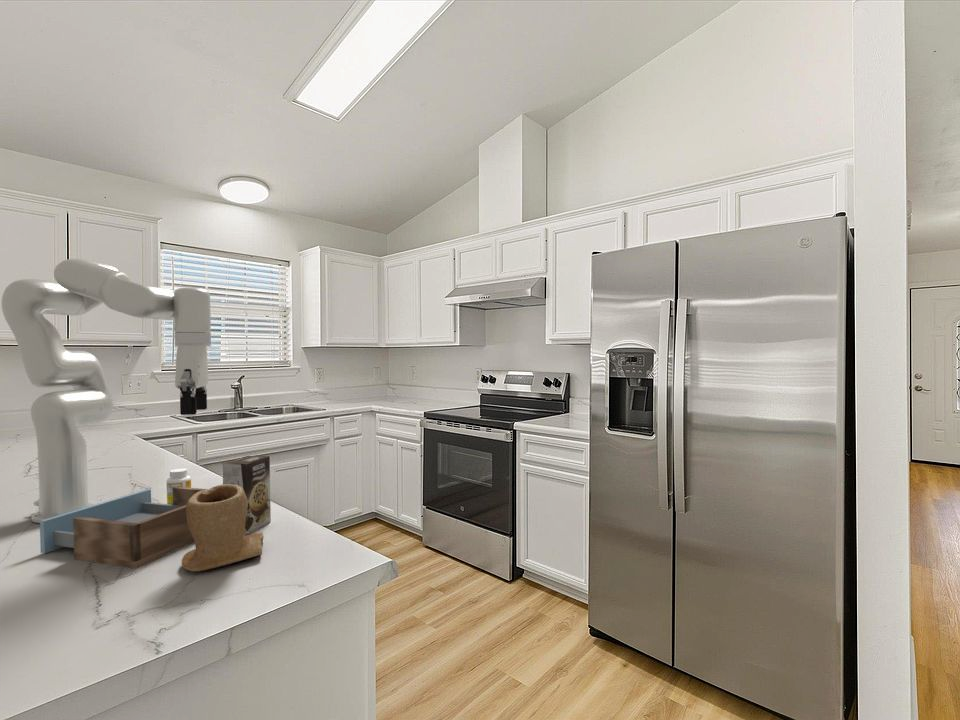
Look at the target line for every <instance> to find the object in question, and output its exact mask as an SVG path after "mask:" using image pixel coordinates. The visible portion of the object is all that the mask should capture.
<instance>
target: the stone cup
mask: <svg viewBox="0 0 960 720" xmlns="http://www.w3.org/2000/svg"><path fill="white" fill-rule="evenodd" d="M207 489H208V490H202V491H199V492H197V493H196V494H194V495H193V496H192V497H191V498H190V499H189V500H188V502H187V506H186V515H187V524H188V527H189V530H190V532H191V534H192V536H193V538H194V541H195V542H194V545H195V548H194V549H192V550H189V551H187V552H186V553H185V554H183V557H182V559H181V566H182V567H183V568H184V569H185V570H187V571H189V572H202V571H208V570H211V569H215V568H219V567H222V566H227V565H230V564H233V563H234V564H235V563H238V562H240V561H243V560H244V561H245V560H248V559H251V558H255V557H258V556H261V555H262V554H263V545H264V533H263V532H262V531H261V532H257V533H253V534H248V535H244V527H245V521H246V515H247V509H248V501H247V497H246V494H245V492H244V490H243V488H242V487H240V486H238V485H233V484H225V485H223V484H217V485H215V486H212V487H211V488H207Z"/></svg>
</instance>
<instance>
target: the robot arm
mask: <svg viewBox="0 0 960 720" xmlns="http://www.w3.org/2000/svg"><path fill="white" fill-rule="evenodd" d="M53 277H54V280H55V281H53V280H46V279H36V278H35V279H33V278H25V279H24V278H23V279H17V280H14V281H13V282H11V283H9V284H8V285H7V286H6V287H5V289H4V291H3V293H2V296H1V310H2V314H3V317H4V319H5V321H6V324H7V325H8V327H9V328H10V330H11V332H12V334H13V336H14V338H15V341H16V344H17V348H18V351H19V354H20V357H21V359H22V364H23V367H24V370H25V372H26V375H27V378H28V380H29V381H30V383H31V384H32V385H33V386H34V387H37V388H41V389H42V388H43V389H51V388H52V389H54V388H67V387H72V388H73V389H71V390H70V389H68V390H59V391H58V390H56V391H50V392H48V393H44V394H41V395H40V396H38V397H37V398H35V399H34V401H33V402H32V404H31V405H30V406H31V407H30V416H31V420H32V424H33V427H34V430H35V435H36V446H37V459H38V460H37V461H38V462H37V463H38V466H37V467H38V490H39V491H38V492H39V493H38V496H39V498H38V499H37V500H35V501H33V506H34V507H38V511H37V512H35V513H33V514H32V515H31V517H30V518H31V522H33V523H35V524H40V521H41V520H44V519H48V518H51V517H55V516H58V515H61V514H65V513H68V512H71V511H75V510H78V509H82V508H85V507H88V506H92V505H95V504H94V503H89V489H88V488H89V487H88V486H89V485H88V484H89V483H88V453H87V452H88V451H87V442H86V439H85V437H84V436H83V434H82V433H81V431H80V430H79V429H78V427H82V426H89V425H95V424H99V423H102V422H105V421H106V420H108V419H109V418H110V417H111V416H112V413H113V410H114V405H113V404H114V403H113V398H112V394H111V391H110V387H109V385H108V381H107V379H106V375H105V373H104V370H103V369H104V368H103V366H102V364H101V362H100V361H99V359H98V358H97V357H96V356H95V355H94V354H93V353H90V352H88V351H84V350H68V349H66V348H65V346H64V344H63V341H62V338H61V335H60V333H59V331H58V329H57V328H56V327H55V325H53V323H52V322H50V321H49V320H48V319H47V318H46V317H45V316H44V315H45V314H46V315H57V316H59V315H60V316H81V315H84V314H86V313H89V312H90V311H92V310H94V309H95V308H97V307H99V306H100V305H102V304H104V305H105V306H106V307H107V308H109V309H111V310H113V311H115V312H118V313H121V314H124V315H128V316H130V317H135V318H140V319H149V320H161V321H162V320H163V321H174V323H173V326H174V329H173V330H174V347H176V356H175V357H176V358H175V376H174V377H175V382H174V383H175V387H176V388H177V389H179V391H180V393H179V406H180V407H179V408H180V409H179V410H180V411H179V412H180V413H179V415H180V416H194V415H195V416H196V414H197V410H198V411H199V410H200V411H201V410H202V411H204V410H207V409H208V393H207V390H208V389H207V387H206V386H207V385H208V382H209V381H208V379H209V368H208V366H209V365H208V364H209V363H208V352H207V351H208V350H207V349H208V348H207V347H211V346H212V336H211V335H212V333H211V332H212V331H211V330H212V329H211V327H212V326H211V324H212V323H211V322H212V321H211V294H210V293H209V291H208V290H206V289H203V288H198V287H197V288H196V287H181V288H177V289H172V288H165V287H158V286H150V285H144V284H140V283H137V282H136V283H135V282H132V281H131V278H130V277H129V275H127V273H125V272H122V271H121V270H118V269H117V267H115V266H114V265H111V264H108V263H103V262H99V261H92V260H85V259H79V258H67V259H65V260H62V261H60V262H59V263H57V264H56V266H55V268H54V271H53Z"/></svg>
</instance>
